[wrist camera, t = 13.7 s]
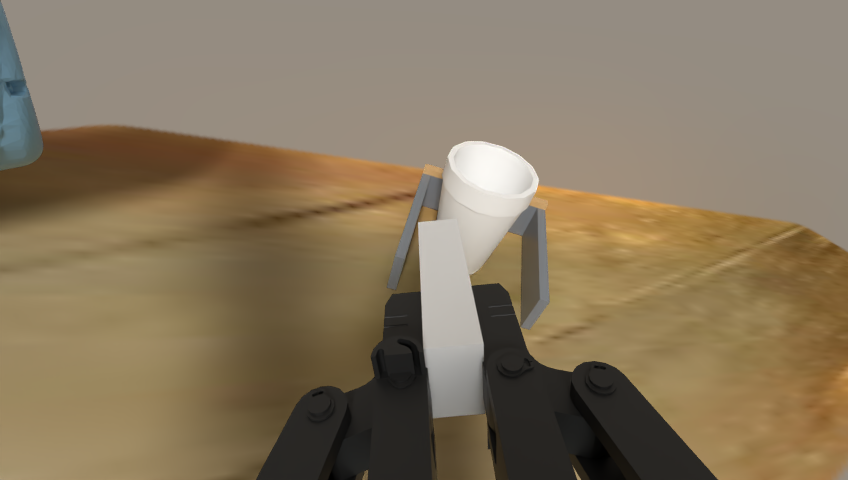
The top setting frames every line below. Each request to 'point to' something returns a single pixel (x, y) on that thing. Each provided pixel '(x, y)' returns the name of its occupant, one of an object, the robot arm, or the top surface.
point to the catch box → (526, 225)
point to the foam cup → (484, 195)
